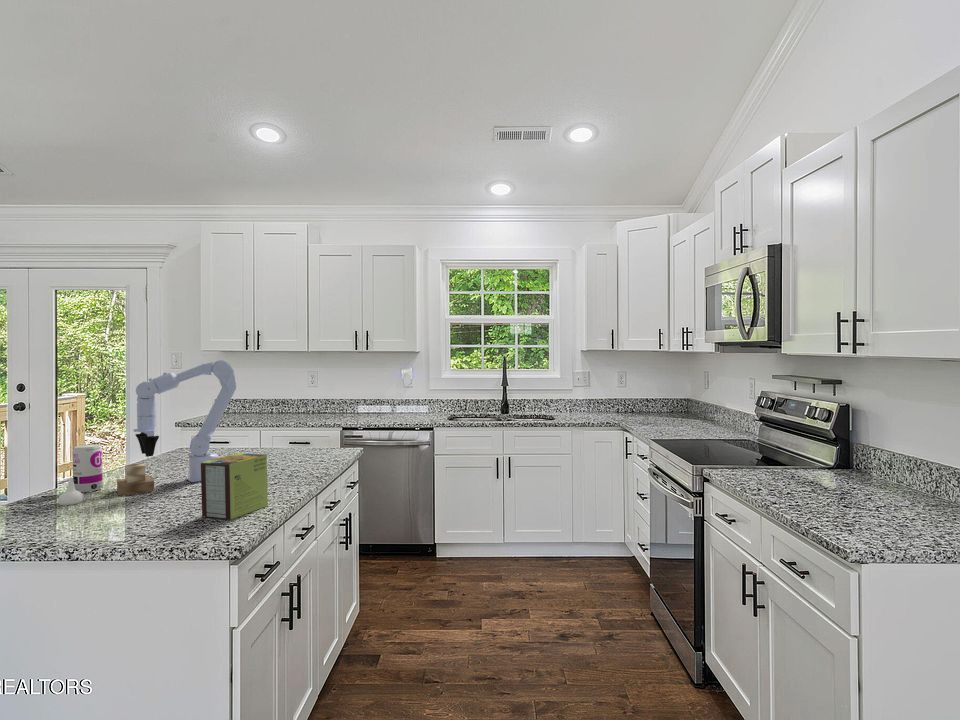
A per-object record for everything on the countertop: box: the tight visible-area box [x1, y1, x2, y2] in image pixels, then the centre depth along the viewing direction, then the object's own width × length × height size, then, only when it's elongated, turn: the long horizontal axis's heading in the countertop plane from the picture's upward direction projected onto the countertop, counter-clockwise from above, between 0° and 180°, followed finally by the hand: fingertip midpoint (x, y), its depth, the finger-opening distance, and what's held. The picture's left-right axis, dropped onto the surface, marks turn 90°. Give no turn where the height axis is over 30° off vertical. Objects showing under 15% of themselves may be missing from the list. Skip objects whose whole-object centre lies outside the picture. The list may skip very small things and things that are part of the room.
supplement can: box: [72, 443, 104, 493], centre depth 193 cm, size 8×8×15 cm
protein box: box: [200, 452, 269, 521], centre depth 165 cm, size 10×15×16 cm
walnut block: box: [116, 475, 155, 497], centre depth 191 cm, size 10×10×4 cm
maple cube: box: [124, 463, 146, 483], centre depth 191 cm, size 5×5×5 cm
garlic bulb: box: [57, 477, 84, 506], centre depth 177 cm, size 6×6×8 cm
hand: (147, 454), depth 200 cm, fingers open, 7 cm apart
